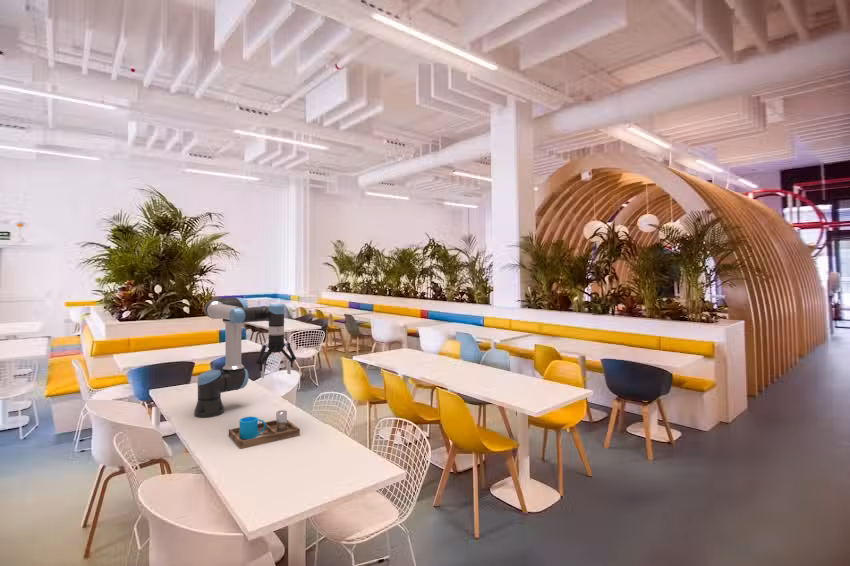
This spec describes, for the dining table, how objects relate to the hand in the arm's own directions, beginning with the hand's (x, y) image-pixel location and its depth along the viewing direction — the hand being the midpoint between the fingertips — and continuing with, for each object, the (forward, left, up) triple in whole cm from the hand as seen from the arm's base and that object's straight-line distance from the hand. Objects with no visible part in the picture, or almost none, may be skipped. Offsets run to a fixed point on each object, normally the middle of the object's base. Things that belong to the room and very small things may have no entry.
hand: (275, 375), depth 225 cm
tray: (+7, -8, -27) cm, 29 cm away
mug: (+7, -13, -26) cm, 30 cm away
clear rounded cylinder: (+7, +1, -26) cm, 27 cm away
